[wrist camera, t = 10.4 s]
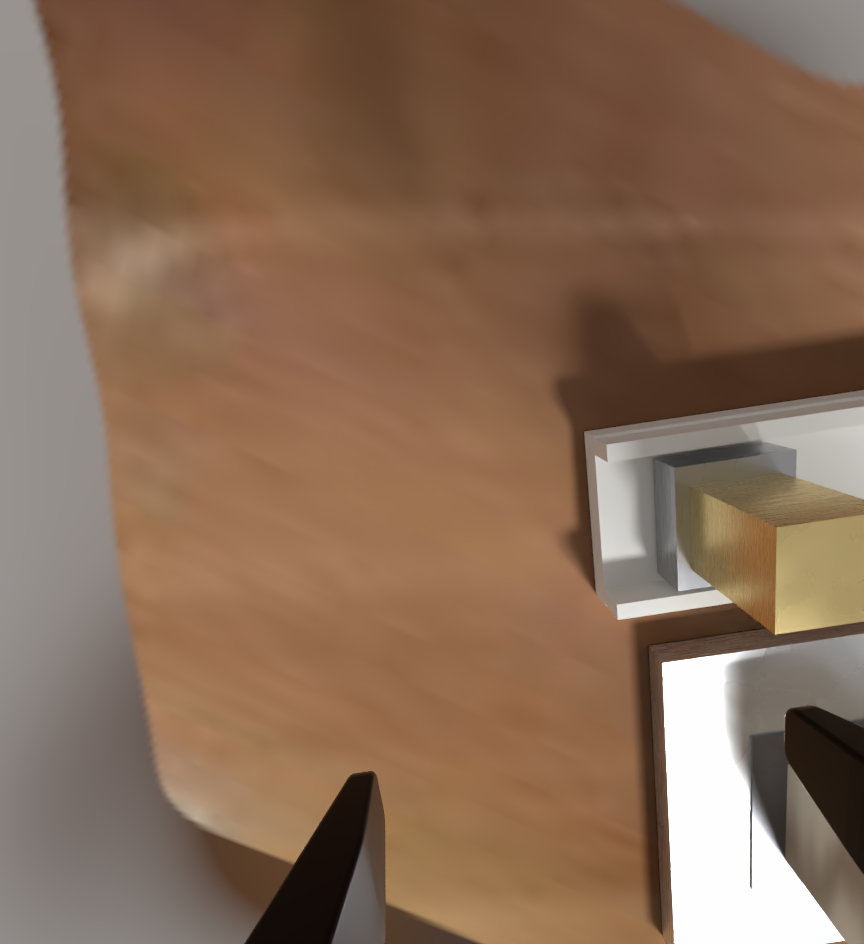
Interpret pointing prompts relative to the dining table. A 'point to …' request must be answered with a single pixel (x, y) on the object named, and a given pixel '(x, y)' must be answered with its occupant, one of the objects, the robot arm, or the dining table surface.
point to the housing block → (823, 863)
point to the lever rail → (634, 446)
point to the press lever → (760, 536)
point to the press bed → (740, 777)
